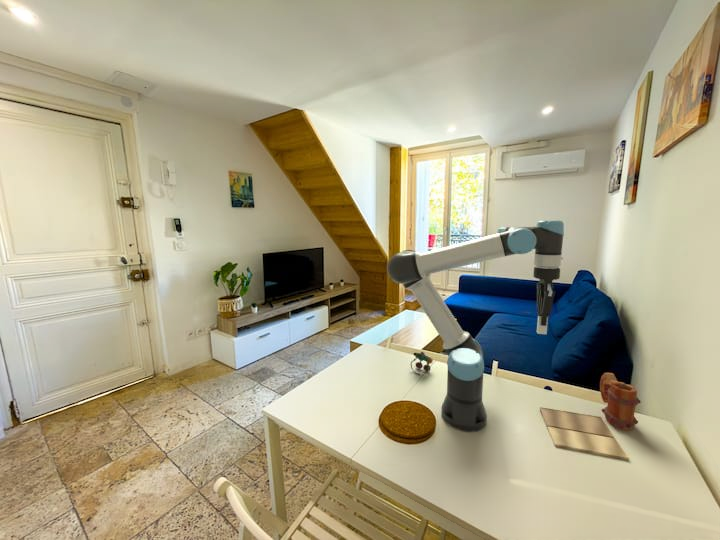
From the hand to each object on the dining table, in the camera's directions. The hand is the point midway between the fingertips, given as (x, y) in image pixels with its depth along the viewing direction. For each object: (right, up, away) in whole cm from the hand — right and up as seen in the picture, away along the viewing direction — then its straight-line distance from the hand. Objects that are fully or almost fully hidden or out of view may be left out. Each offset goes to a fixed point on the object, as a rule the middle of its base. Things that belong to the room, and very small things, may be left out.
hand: (541, 333), depth 101 cm
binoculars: (-35, -25, +35) cm, 55 cm away
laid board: (+5, -32, -13) cm, 35 cm away
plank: (+8, -30, -4) cm, 31 cm away
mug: (+24, -30, -2) cm, 38 cm away
